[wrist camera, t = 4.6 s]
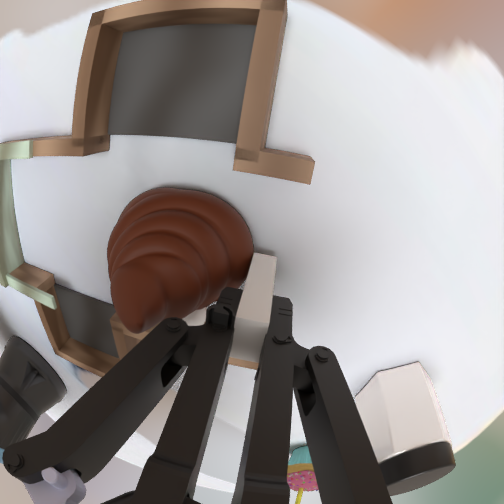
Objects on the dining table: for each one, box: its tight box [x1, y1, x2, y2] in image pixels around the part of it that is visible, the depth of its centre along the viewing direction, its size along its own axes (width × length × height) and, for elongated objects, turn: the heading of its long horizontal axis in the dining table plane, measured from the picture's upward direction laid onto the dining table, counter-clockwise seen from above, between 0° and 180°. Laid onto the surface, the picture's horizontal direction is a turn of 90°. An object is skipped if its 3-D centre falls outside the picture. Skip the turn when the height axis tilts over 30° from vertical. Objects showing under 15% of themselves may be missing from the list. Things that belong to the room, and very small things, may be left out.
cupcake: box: [287, 446, 319, 504], centre depth 26 cm, size 9×8×12 cm
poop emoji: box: [107, 187, 254, 334], centre depth 15 cm, size 10×8×9 cm
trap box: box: [0, 0, 315, 377], centre depth 18 cm, size 30×34×4 cm
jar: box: [355, 362, 456, 496], centre depth 18 cm, size 9×8×12 cm
